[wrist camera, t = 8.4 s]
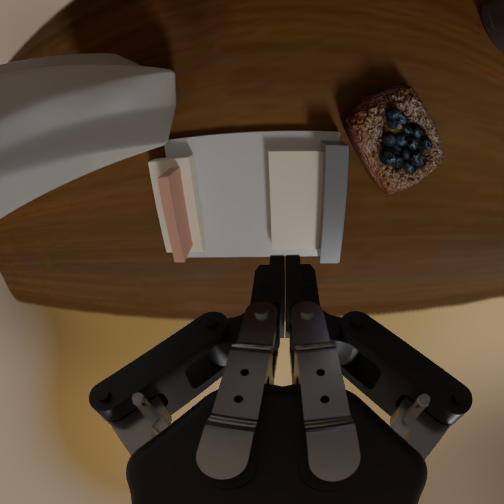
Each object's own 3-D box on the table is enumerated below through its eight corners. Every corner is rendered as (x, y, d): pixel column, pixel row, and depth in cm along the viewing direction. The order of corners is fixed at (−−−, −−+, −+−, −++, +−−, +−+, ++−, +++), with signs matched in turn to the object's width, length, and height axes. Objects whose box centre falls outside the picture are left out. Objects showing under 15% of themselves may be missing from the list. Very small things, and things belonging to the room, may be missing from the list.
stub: (192, 154, 29) (177, 165, 25) (205, 245, 35) (195, 269, 31) (153, 159, 30) (133, 171, 25) (170, 246, 36) (156, 269, 31)
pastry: (399, 74, 23) (423, 72, 18) (441, 156, 27) (466, 169, 22) (328, 116, 27) (341, 120, 22) (379, 197, 32) (396, 216, 27)
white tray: (340, 131, 28) (349, 136, 24) (332, 252, 36) (338, 269, 33) (166, 139, 29) (152, 145, 26) (185, 254, 38) (177, 270, 34)
